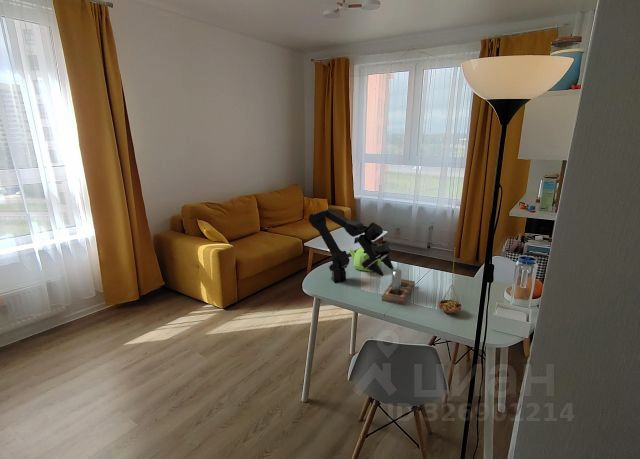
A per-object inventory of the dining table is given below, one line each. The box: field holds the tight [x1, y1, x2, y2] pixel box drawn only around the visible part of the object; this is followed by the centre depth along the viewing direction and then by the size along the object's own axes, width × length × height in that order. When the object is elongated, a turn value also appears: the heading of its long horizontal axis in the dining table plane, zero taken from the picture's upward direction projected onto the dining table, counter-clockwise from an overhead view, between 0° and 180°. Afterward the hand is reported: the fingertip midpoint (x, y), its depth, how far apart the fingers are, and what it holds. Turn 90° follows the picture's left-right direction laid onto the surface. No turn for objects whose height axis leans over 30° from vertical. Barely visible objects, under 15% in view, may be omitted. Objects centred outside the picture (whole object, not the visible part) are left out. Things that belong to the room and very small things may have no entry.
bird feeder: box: [438, 248, 462, 314], centre depth 141 cm, size 9×9×30 cm
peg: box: [391, 269, 403, 296], centre depth 157 cm, size 4×4×13 cm
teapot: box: [348, 246, 383, 273], centre depth 194 cm, size 18×20×13 cm
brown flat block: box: [381, 278, 416, 306], centre depth 163 cm, size 22×10×3 cm, turn 153°
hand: (388, 272), depth 159 cm, fingers open, 9 cm apart
